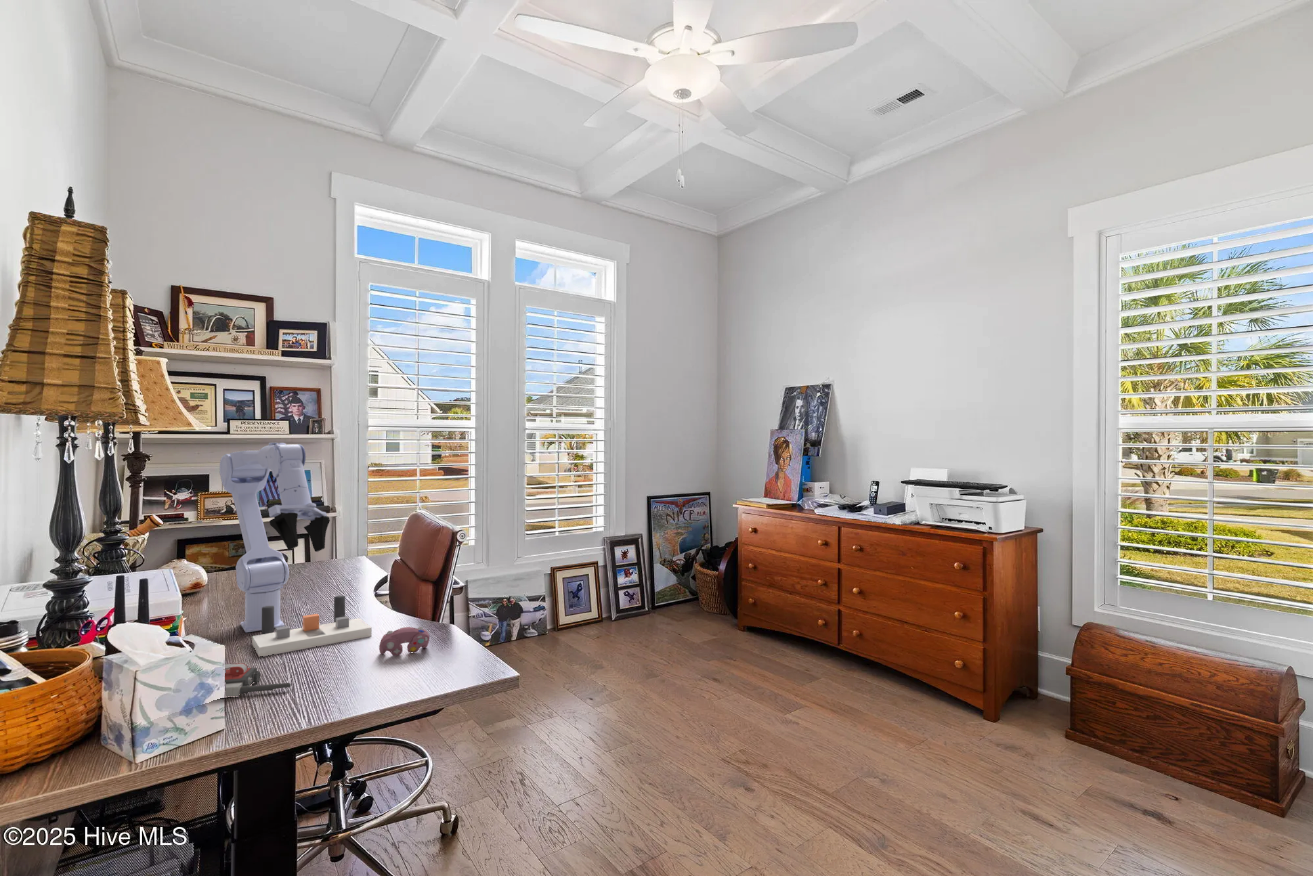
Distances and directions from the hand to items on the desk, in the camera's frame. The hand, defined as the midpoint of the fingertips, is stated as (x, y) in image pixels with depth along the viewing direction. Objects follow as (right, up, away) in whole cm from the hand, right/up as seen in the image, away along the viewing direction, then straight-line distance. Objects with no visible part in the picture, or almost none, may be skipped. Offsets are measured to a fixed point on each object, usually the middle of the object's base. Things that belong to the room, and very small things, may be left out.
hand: (306, 549), depth 137 cm
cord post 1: (-12, -21, +6) cm, 25 cm away
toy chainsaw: (0, -22, -24) cm, 32 cm away
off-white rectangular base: (-1, -21, +4) cm, 22 cm away
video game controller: (+23, -22, -4) cm, 32 cm away
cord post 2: (-1, -21, +16) cm, 27 cm away
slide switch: (-2, -19, +6) cm, 20 cm away
